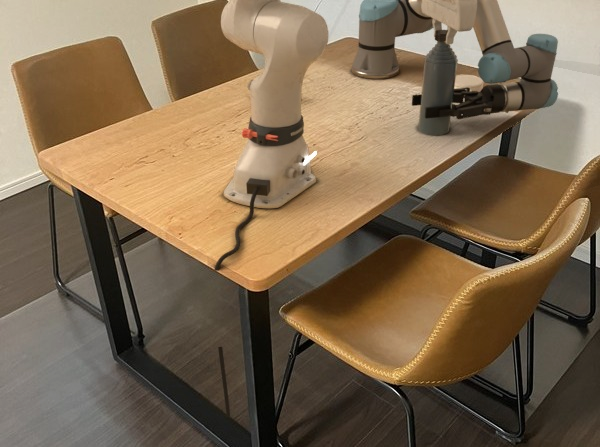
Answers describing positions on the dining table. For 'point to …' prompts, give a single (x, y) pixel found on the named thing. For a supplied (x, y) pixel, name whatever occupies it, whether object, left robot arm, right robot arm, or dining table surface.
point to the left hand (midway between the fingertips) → (443, 40)
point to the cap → (440, 35)
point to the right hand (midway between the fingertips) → (419, 106)
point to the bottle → (437, 87)
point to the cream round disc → (469, 82)
